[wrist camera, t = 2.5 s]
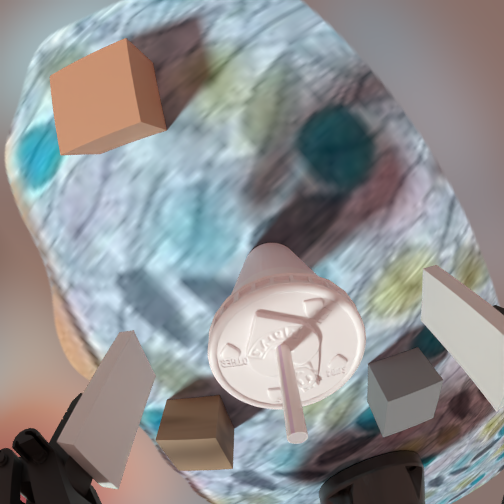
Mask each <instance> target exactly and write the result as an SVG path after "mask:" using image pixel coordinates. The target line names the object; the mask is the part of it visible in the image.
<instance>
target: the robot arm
mask: <svg viewBox="0 0 504 504" xmlns="http://www.w3.org/2000/svg"><path fill="white" fill-rule="evenodd" d="M421 321H422V322H423V323H424V324H425V326H426V327H427V328H428V329H429V330H430V331H431V332H432V333H433V335H434V336H435V337H436V338H437V339H438V340H439V341H440V343H441V344H442V345H443V346H444V347H445V348H446V349H447V351H448V352H449V353H450V354H451V355H452V356H453V358H454V359H455V360H456V361H457V362H458V364H459V365H460V366H461V367H462V368H463V370H464V371H465V372H466V373H467V375H468V376H469V377H470V378H471V379H472V381H473V382H474V383H475V384H476V386H477V387H478V388H479V390H480V391H481V392H482V393H483V395H484V396H485V397H486V399H487V400H488V401H489V402H490V404H491V405H492V406H493V408H494V409H495V410H496V412H497V411H498V410H500V409H501V408H503V407H504V308H502V307H499V306H497V305H494V306H491V305H490V304H489V303H488V302H486V301H485V300H484V299H482V298H481V297H480V296H479V295H477V294H476V293H475V292H473V291H472V290H471V289H469V288H468V287H466V286H465V285H464V284H462V283H461V282H460V281H458V280H457V279H456V278H454V277H453V276H451V275H450V274H449V273H447V272H446V271H444V270H443V269H441V268H440V267H439V266H437V265H434V266H431V267H427V268H424V269H423V290H422V310H421ZM155 377H156V375H155V373H154V372H153V370H152V368H151V366H150V364H149V362H148V360H147V358H146V356H145V353H144V351H143V349H142V347H141V345H140V343H139V341H138V339H137V337H136V334H135V332H134V330H133V331H125V332H120V333H119V334H118V336H117V337H116V339H115V341H114V342H113V344H112V345H111V347H110V349H109V350H108V352H107V354H106V355H105V357H104V358H103V360H102V362H101V363H100V365H99V367H98V368H97V370H96V372H95V373H94V375H93V377H92V379H91V380H90V382H89V384H88V385H87V387H86V389H85V391H84V392H83V393H80V394H79V395H78V396H77V397H76V398H75V399H74V400H73V401H72V402H71V404H70V406H69V408H68V410H67V412H66V413H65V415H64V416H63V419H62V420H61V422H60V424H59V426H58V427H57V429H56V431H55V433H54V435H53V436H52V438H51V440H50V442H49V443H48V442H47V441H46V440H45V439H44V437H43V436H42V435H41V434H40V433H39V432H38V431H37V430H36V429H33V428H29V429H25V430H23V431H22V432H20V433H19V434H18V435H17V436H16V437H15V439H14V441H13V446H12V447H13V449H14V450H15V451H16V452H17V453H18V454H19V455H20V456H21V457H18V456H17V455H16V454H15V453H14V452H13V451H12V450H10V449H8V448H4V449H1V450H0V504H25V503H23V502H22V501H21V500H20V494H21V495H22V496H24V497H25V498H26V504H102V503H101V501H100V499H99V497H98V495H97V493H96V490H95V489H94V488H93V486H92V485H91V482H92V479H94V480H95V481H96V482H97V483H98V484H99V485H101V486H102V487H108V488H114V489H119V486H120V483H121V480H122V476H123V473H124V470H125V466H126V463H127V460H128V457H129V454H130V451H131V447H132V444H133V441H134V438H135V435H136V432H137V429H138V426H139V423H140V420H141V417H142V414H143V411H144V408H145V406H146V403H147V400H148V397H149V394H150V391H151V388H152V386H153V383H154V380H155ZM319 498H320V503H321V504H425V483H424V467H423V464H422V462H421V460H420V458H419V456H418V454H417V453H415V452H411V451H399V452H393V453H388V454H384V455H380V456H377V457H374V458H371V459H368V460H365V461H363V462H360V463H358V464H356V465H353V466H351V467H349V468H347V469H345V470H343V471H341V472H340V473H338V474H336V475H335V476H333V477H332V478H330V479H329V480H328V481H327V482H325V483H324V484H323V486H322V487H321V488H320V490H319ZM502 504H504V497H503V500H502Z"/></svg>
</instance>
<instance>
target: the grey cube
mask: <svg viewBox="0 0 504 504" xmlns="http://www.w3.org/2000/svg"><path fill="white" fill-rule="evenodd" d="M442 384H443V379H442V378H441V376H440V375H439V374H438V373H437V371H436V370H435V369H434V367H433V366H432V365H431V363H430V362H429V361H428V359H427V358H426V357H425V356H424V354H423V353H422V352H421V351H420V349H419V348H418V347H417V348H414V349H412V350H409V351H406V352H403V353H400V354H397V355H394V356H391V357H388V358H385V359H382V360H379V361H375V362H372V363H369V364H368V393H367V401H368V404H369V406H370V408H371V411H372V413H373V415H374V418H375V420H376V422H377V424H378V427H379V429H380V432H381V434H382V436H383V437H386V436H389V435H392V434H395V433H398V432H400V431H403V430H406V429H408V428H411V427H413V426H416V425H418V424H421V423H423V422H425V421H428V420H430V419H432V418H433V417H434V414H435V410H436V407H437V403H438V399H439V396H440V392H441V388H442Z"/></svg>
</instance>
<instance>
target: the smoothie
mask: <svg viewBox="0 0 504 504" xmlns="http://www.w3.org/2000/svg"><path fill="white" fill-rule="evenodd" d="M365 345H366V332H365V327H364V323H363V321H362V318H361V316H360V314H359V313H358V311H357V308H356V305H355V304H354V302H353V301H352V300H351V299H350V297H349V296H348V295H347V293H346V292H345V291H344V290H343V289H341V288H340V287H338V286H337V285H335V284H334V283H333V282H331V281H330V280H327V279H324V278H321V277H318V276H317V275H316V274H315V273H314V272H313V271H312V270H311V269H310V268H309V267H308V266H307V265H306V264H305V263H304V262H303V261H302V260H301V259H300V258H299V257H298V256H297V255H295V254H294V253H293V252H292V251H291V250H290V249H289V248H288V247H286V246H284V245H282V244H279V243H265V244H261V245H259V246H257V247H256V248H254V249H253V250H252V251H251V252H250V253H249V254H248V256H247V258H246V260H245V262H244V265H243V267H242V269H241V272H240V274H239V277H238V279H237V282H236V284H235V287H234V289H233V291H232V294H231V295H230V296H229V297H228V298H227V299H226V300H225V301H224V303H223V304H222V305H221V307H220V308H219V310H218V311H217V312H216V314H215V316H214V319H213V321H212V324H211V327H210V330H209V343H208V360H209V365H210V368H211V371H212V373H213V375H214V377H215V378H216V380H217V381H218V383H219V384H220V385H221V386H222V387H223V388H224V389H225V390H226V391H227V392H228V393H229V394H231V395H232V396H234V397H235V398H237V399H239V400H241V401H243V402H245V403H247V404H250V405H253V406H256V407H261V408H267V409H283V410H284V418H285V425H286V433H287V440H288V442H290V443H293V444H297V443H302V442H304V441H305V440H307V438H308V433H307V428H306V423H305V418H304V413H303V409H302V407H303V406H307V405H310V404H313V403H315V402H318V401H320V400H323V399H324V398H326V397H328V396H330V395H331V394H333V393H334V392H336V391H337V390H338V389H340V388H341V387H342V386H343V385H344V384H345V383H346V382H347V381H348V380H349V379H350V378H351V377H352V375H353V374H354V373H355V371H356V370H357V368H358V366H359V364H360V362H361V360H362V357H363V354H364V350H365Z"/></svg>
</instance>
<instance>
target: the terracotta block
mask: <svg viewBox="0 0 504 504" xmlns="http://www.w3.org/2000/svg"><path fill="white" fill-rule="evenodd" d="M50 85H51V95H52V104H53V111H54V119H55V125H56V132H57V137H58V143H59V148H60V154H61V155H81V154H102V153H104V152H107V151H109V150H112V149H114V148H117V147H120V146H122V145H125V144H128V143H131V142H134V141H136V140H139V139H142V138H145V137H148V136H151V135H154V134H157V133H160V132H164V131H167V128H166V124H165V119H164V114H163V110H162V105H161V100H160V96H159V91H158V86H157V81H156V76H155V71H154V65H153V63H152V62H151V61H150V60H149V59H148V58H147V57H146V56H145V55H144V54H143V53H142V52H141V51H140V50H139V49H137V48H136V47H135V46H134V45H133V44H132V43H131V42H130V41H129V40H128V39H126V38H125V39H123V40H120V41H118V42H116V43H113V44H111V45H109V46H106V47H104V48H102V49H100V50H98V51H96V52H94V53H92V54H90V55H88V56H86V57H84V58H82V59H80V60H78V61H76V62H74V63H72V64H70V65H68V66H67V67H65V68H63V69H61V70H59V71H58V72H56V73H54V74H53V75H51V76H50Z"/></svg>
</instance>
